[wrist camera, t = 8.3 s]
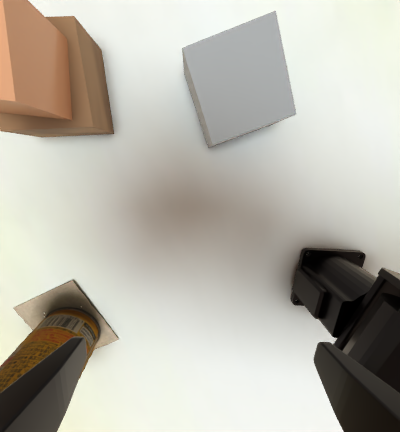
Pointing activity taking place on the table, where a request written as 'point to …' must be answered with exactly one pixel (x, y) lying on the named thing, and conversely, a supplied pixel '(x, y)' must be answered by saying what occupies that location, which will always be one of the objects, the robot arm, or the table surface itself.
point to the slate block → (239, 79)
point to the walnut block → (73, 91)
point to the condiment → (55, 329)
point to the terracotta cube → (32, 63)
